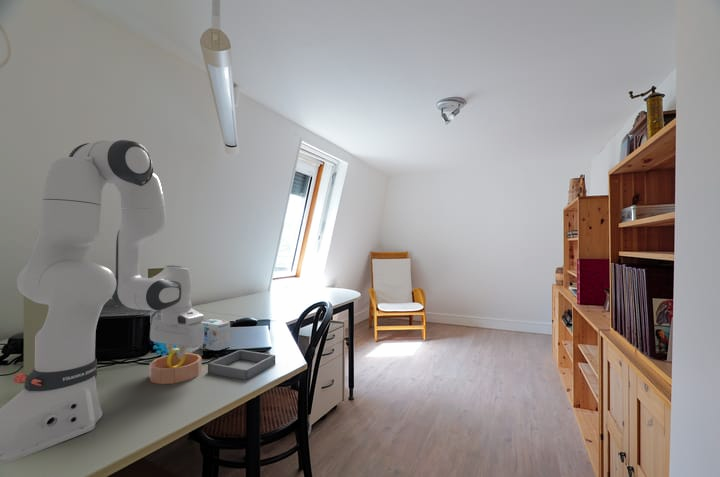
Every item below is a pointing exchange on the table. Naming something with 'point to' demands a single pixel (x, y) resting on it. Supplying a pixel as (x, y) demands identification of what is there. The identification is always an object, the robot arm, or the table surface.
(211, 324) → the light bulb box
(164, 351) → the gear
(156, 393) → the table surface
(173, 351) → the watch
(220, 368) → the parts tray
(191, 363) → the bowl
